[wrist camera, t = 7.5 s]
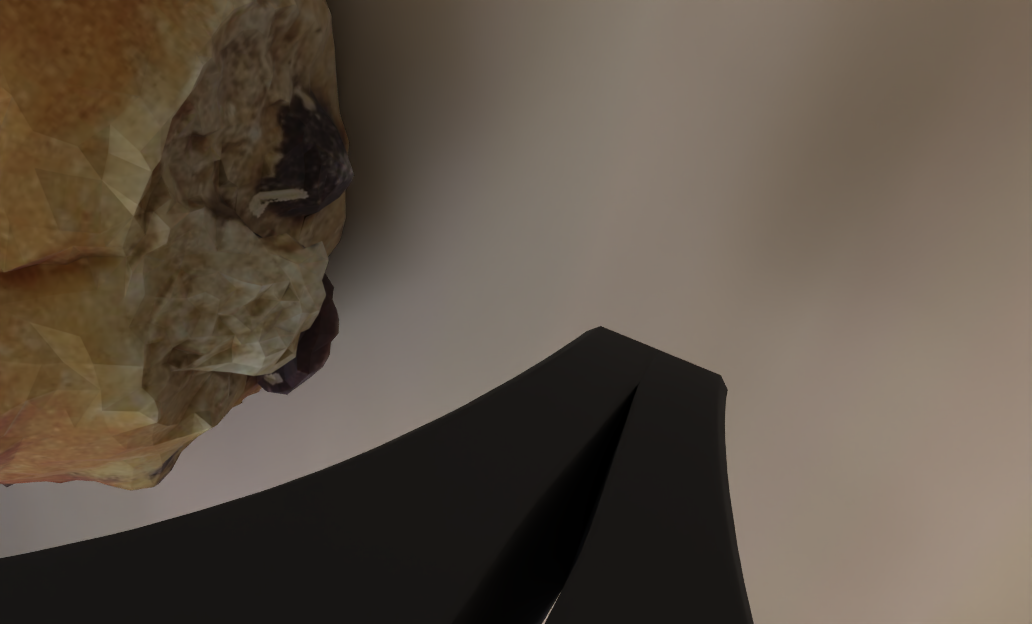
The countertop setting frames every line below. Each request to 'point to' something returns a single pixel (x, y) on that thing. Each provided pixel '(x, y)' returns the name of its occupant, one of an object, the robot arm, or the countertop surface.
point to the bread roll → (160, 224)
